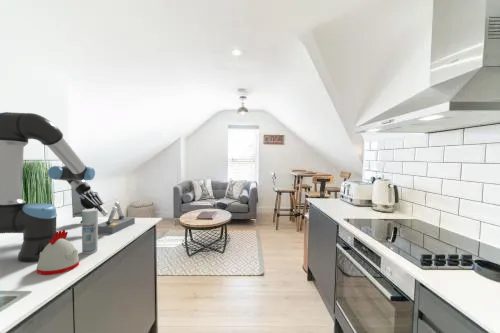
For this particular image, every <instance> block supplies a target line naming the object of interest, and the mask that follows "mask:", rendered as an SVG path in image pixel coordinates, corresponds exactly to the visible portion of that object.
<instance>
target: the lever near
mask: <svg viewBox="0 0 500 333" xmlns="http://www.w3.org/2000/svg"><path fill="white" fill-rule="evenodd" d="M116 212H117V207H116V206H113V207H112V208H111V212H110V214H109V216H108V219H107V220H106V221H107V222H106V221H105V222H106V224H107V225H109V224H111V223H112V220H113V219H114V218H115V216H116V215H115V214H116Z"/></svg>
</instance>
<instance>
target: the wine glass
mask: <svg viewBox="0 0 500 333" xmlns="http://www.w3.org/2000/svg"><path fill="white" fill-rule="evenodd" d="M93 192H94V193H96V192H97V191H93ZM79 199H80V198H79ZM80 204H81V206H82V207H83V208H84V209H93V208H92V207H91V206H90V205H88V204H87V203H86V202H85V201H84V200H82V199H80ZM80 223H81V224H82V220H81V221H80Z"/></svg>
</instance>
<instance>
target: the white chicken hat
mask: <svg viewBox="0 0 500 333" xmlns="http://www.w3.org/2000/svg"><path fill="white" fill-rule="evenodd" d="M68 234H69V232H68V231H66V230H65V229H62V230H58V231H56V234H55V236H52V237H53V241H52V240H49V241H50V243H49V244H48V245H47V246H46V247H45V248H44V250H43V251H42V252H40V258H39V261H37V266H36V273H37V274H38V275H42V276H51V275H58V274H59V275H60V274H63V273H66V272H69V271H72V270H74V269H76V268H78V266H79V265H80V258H79V255H78V253H79V252H78V249H76V247H75V245H74V244H73V243H71V242H70V241H69V240H67V236H68Z"/></svg>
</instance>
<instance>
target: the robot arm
mask: <svg viewBox="0 0 500 333" xmlns="http://www.w3.org/2000/svg"><path fill="white" fill-rule="evenodd" d="M31 139H33V140H36V141H39V143H40V144H41V145H43V146H46V147H48V148H49V149H50V151H52V153H53V154H54V155H55V156H56V157H57V158H58V160H60V161H61V162H62V163H63V164H64V166H60V165H54V166H50V167H49V168H48V171H47V176H48V178H50V179H52V180H57V181H58V180H59V181H66V182H67V184H69V185H70V186H71V187H72V189H73V190H74V191H75V192H76V193H77V194H78V195H80V197H79V199H82V200H84V201H85V202H86V203H87V204H88V205H90V206H91V207H92V209H98V213H99V212H100V214H101V215H102V216H103V217H106V216H107V215H108V214H109V212H108V211H107V209H106V207H104V206H103V205H104V202H103V200H102V198H100V195H99V193H98V192H97V191H94V190H92V189H91V188H92V187H91V186H90V184H88V182H87V181H92V180H93V179H94V178H95V176H96V171H95V169H94V167H90V166H86V165H85V163H84V162H83V160H81V158H80V157H79V156H78V155H77V153H76V152H75V151H74V150H73V149H72V147H71V145H69V143H68V142H67V141H66V139H64V134H63V132H62V131H61V129H59V127H58V126H57V125H56V124H54V123H53V122H52V121H51V120H49V119H47V118H46V117H44V116H42V115H40V114H38V113H32V112H27V113H26V112H13V111H12V112H11V111H10V112H8V111H5V112H0V234H23V235H22V236H23V239H22V241H23V242H22V244H21V245H20V246H21V247H20V249H19V250H20V251H19V252H18V255H17V259H18V261H19V262H23V263H29V262H30V263H31V262H32V263H33V262H38V261H39V258H40V252H42V251H43V250H44V248H45V247H46V246H47V245H48V244H49V243H50V241H49V240H52V241H53V237H52V236H55V234H56V232H57V216H58V214H57V209H56V207H55V205H53V204H49V203H43V202H38V203H37V202H34V203H33V202H32V203H27V201H25V200H24V199H23V198H22V196H23V175H24V152H25V151H24V149H25V148H24V147H25V146H27V145H28V144H29V140H31ZM94 192H96V193H94Z"/></svg>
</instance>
